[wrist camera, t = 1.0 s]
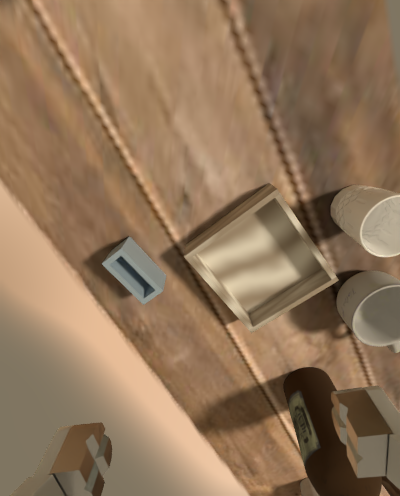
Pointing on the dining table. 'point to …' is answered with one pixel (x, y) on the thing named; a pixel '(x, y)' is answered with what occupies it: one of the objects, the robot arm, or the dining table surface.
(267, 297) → the beige shallow tray
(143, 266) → the box
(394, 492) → the brown rock
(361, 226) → the white cup
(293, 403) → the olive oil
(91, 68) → the dining table surface
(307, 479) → the house plant
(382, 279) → the teacup
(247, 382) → the dining table surface
